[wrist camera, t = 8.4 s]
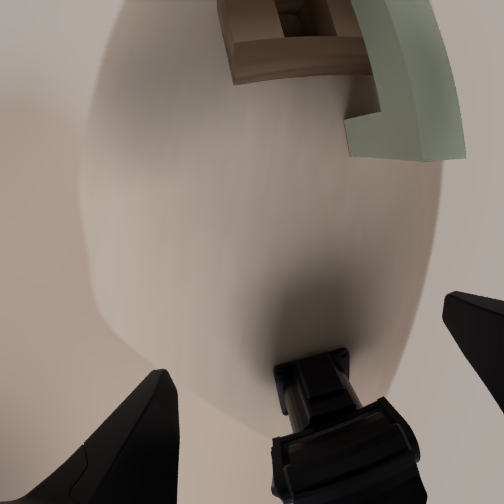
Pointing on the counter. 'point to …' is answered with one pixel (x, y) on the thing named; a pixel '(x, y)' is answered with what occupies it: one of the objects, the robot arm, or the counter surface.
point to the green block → (407, 86)
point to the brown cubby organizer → (291, 39)
